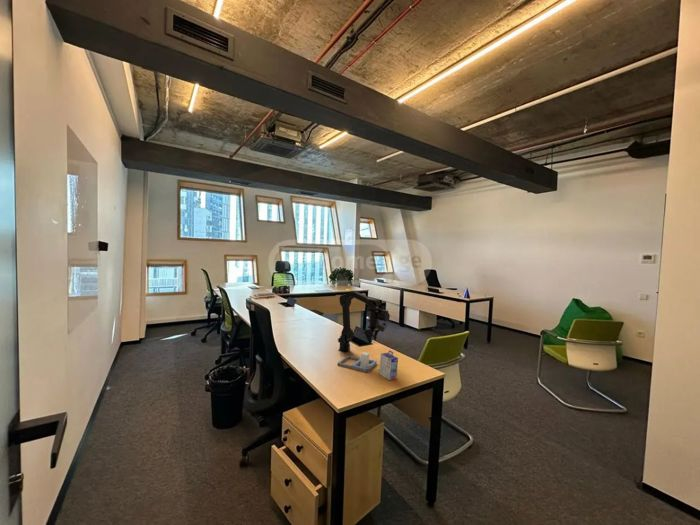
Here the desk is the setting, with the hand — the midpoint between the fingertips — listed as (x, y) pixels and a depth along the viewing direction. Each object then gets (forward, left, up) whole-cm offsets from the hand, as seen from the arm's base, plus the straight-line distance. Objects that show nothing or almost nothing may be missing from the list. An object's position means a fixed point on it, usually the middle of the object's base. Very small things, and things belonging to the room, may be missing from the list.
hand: (372, 341), depth 190 cm
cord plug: (0, -12, -12) cm, 17 cm away
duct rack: (-5, -12, -12) cm, 18 cm away
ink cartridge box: (+17, -18, -12) cm, 28 cm away
